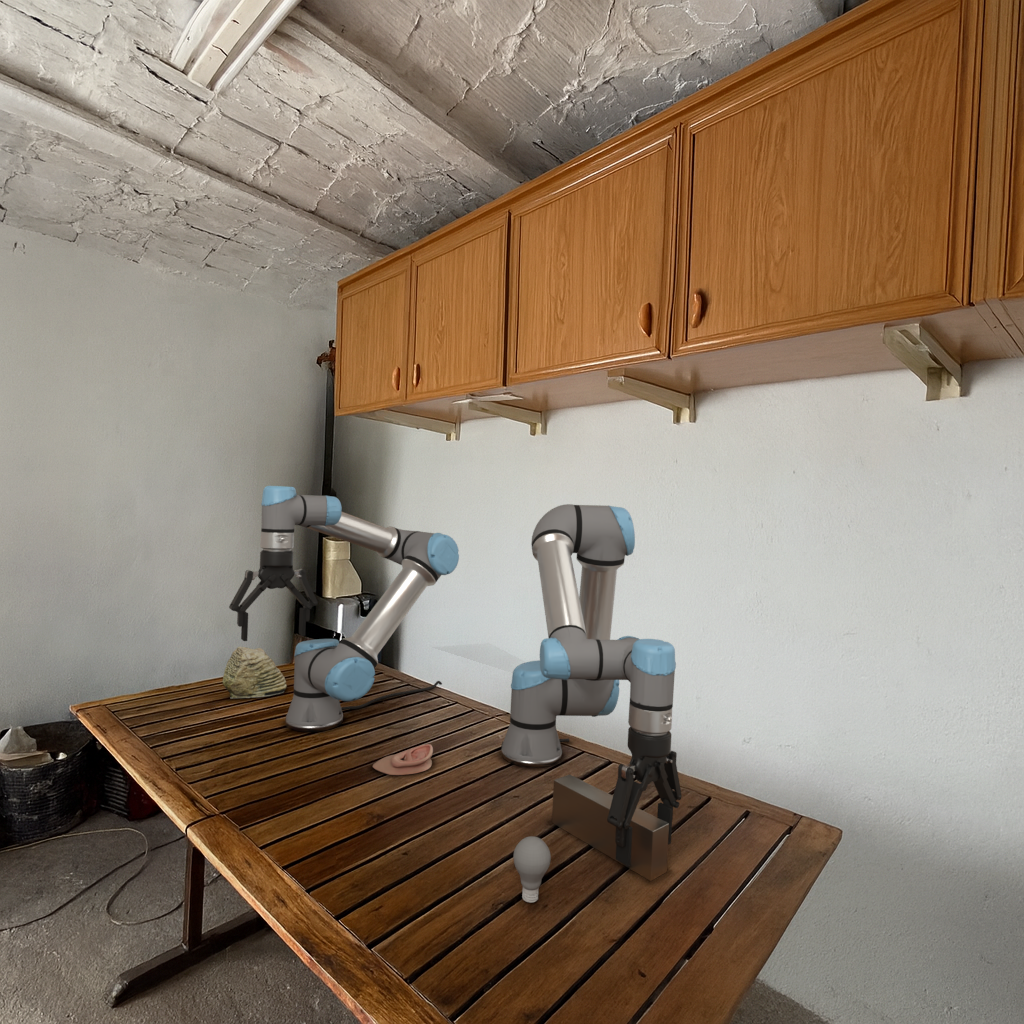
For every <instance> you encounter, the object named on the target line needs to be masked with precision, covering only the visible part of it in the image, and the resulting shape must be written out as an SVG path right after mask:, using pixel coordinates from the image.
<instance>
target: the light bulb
mask: <svg viewBox="0 0 1024 1024" xmlns="http://www.w3.org/2000/svg"><path fill="white" fill-rule="evenodd" d="M512 858H513V864H514V866H515V869H516V871H517V873H518V875H519V878H520V884H521V886H522V894H521V895H522V896H521V898H522V900H523V901H524V902H526V903H530V904H531V903H535V902H537V901H538V900H539V888H540V887H541V885H542V879H543V877H544V876H545V874H546V873H547V871H548V869H549V867H550V865H551V862H552V861H551V859H552V857H551V851H550V848H549V846H548V845H547V843H546V842H545V841H544V840H543V839H542V838H541V837H539V836H525V837H524V838H522V839H521V840H520V841H518V843H517V844H516V846H515V848H514V851H513V856H512Z"/></svg>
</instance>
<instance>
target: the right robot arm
mask: <svg viewBox="0 0 1024 1024" xmlns="http://www.w3.org/2000/svg"><path fill="white" fill-rule="evenodd" d="M635 533H636V532H635V526H634V522H633V519H632V516H631V513H630V512H629V511H628V510H627V509H626V508H624V507H621V506H613V505H596V504H594V505H593V504H592V505H590V504H572V503H567V504H561V505H557V506H555V507H553V508H551V509H550V510H548V511H547V512H546V513H545V514H543V515H542V517H541V518H540V519H539V520H538V522H537V523H536V525H535V527H534V529H533V532H532V536H531V543H530V545H531V552H532V556H533V558H534V559H535V560H536V561H537V564H538V572H539V578H540V587H541V593H542V601H543V609H544V616H545V624H546V630H547V637H548V638H544V639H542V640H541V641H540V642H541V643H540V646H539V660H531V661H527V662H523V663H521V664H519V665H517V666H515V668H513V671H512V674H511V675H512V676H511V683H510V689H511V690H510V691H511V694H510V714H509V726H508V728H507V731H506V733H505V736H504V739H503V741H502V742H501V745H500V748H501V754H500V755H501V757H502V759H504V760H505V761H506V762H508V763H509V764H511V765H515V766H519V767H525V768H533V769H534V768H538V769H539V768H548V767H551V766H554V765H556V764H558V763H559V762H561V761H562V758H563V757H562V755H563V748H562V745H561V743H570V741H571V740H570V738H559V737H560V736H559V734H558V730H557V717H559V716H560V717H562V716H563V717H593V718H596V717H601V716H609V715H610V714H612V713H613V712H614V711H615V709H616V707H617V705H618V701H619V696H620V681H628V682H629V683H630V685H629V687H630V688H629V704H628V705H629V706H628V720H627V721H628V726H629V727H628V731H627V749H628V750H629V752H630V754H631V759H630V762H629V763H628V764H623V763H620V764H619V765H618V767H617V778H616V779H617V780H616V783H615V787H614V791H613V794H612V796H613V799H612V803H611V807H610V811H609V815H608V818H607V822H608V823H610V824H612V825H614V826H615V827H616V836H615V837H616V838H615V842H616V860H618V861H619V862H621V863H623V864H624V865H626V866H630V865H631V848H632V827H631V826H629V825H630V822H631V820H632V817H633V815H634V812H635V810H636V807H637V808H638V805H639V802H640V799H641V797H642V794H643V792H646V790H647V789H648V786H649V784H651V783H652V782H653V785H654V787H655V789H656V792H657V794H658V796H659V799H660V801H661V802H659V803H657V818H659V819H661V820H663V821H665V822H667V823H669V834H668V846H669V845H671V844H672V832H673V831H672V829H673V828H672V827H673V819H674V808H675V809H678V808H679V807H680V801H681V800H682V797H683V796H682V789H681V785H680V778H679V773H678V766H677V755H678V753H677V752H676V751H674V750H672V732H671V730H672V728H673V707H674V690H675V677H676V676H675V675H676V674H675V672H676V667H677V663H676V649H675V646H674V645H673V643H670V642H669V641H665V640H662V639H658V638H657V639H655V638H639V637H636V636H633V635H624V636H621V637H619V638H617V639H611V636H612V635H611V634H612V624H613V615H614V604H615V595H616V586H617V585H616V584H617V574H618V570H619V568H621V567H622V566H623V565H625V558H626V556H627V557H629V556H631V555H632V554H633V553H634V550H635V545H636V535H635ZM573 554H576V557H575V558H576V561H577V562H578V564H580V566H581V573H580V574H581V575H580V584H579V589H578V585H577V584H578V583H577V579H576V574H575V569H574V568H575V567H574V563H573V558H572V555H573ZM635 780H636V781H635ZM624 818H625V820H624ZM616 860H615V861H616ZM619 862H618V863H619ZM621 863H620V864H621ZM624 865H623V866H624ZM626 866H625V867H626Z"/></svg>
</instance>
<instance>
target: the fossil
mask: <svg viewBox="0 0 1024 1024" xmlns="http://www.w3.org/2000/svg"><path fill="white" fill-rule="evenodd" d="M222 676H223V677H222V685H223V687H224V688H225V690H226V691H228V693H229V698H230V699H250V698H264V697H271V696H275V695H281V694H284V693H285V691H286V689H287V687H288V686H287V680H286V678H285V676H284V674H283V673H282V672H281V669H279V668H278V667H277V665H276V663H275V662H274V660H273V659H272V658H271V657H270V656H269V655H268V654H267V653H266V652H265V650H264V649H263V648H260V647H258V648H251V647H247V646H246V647H245V646H238V647H237V648H236V649H235V650H233V651H232V653H231V656H230V657H229V659H228V660H227V663H226V666H225V668H224V671H223V675H222Z"/></svg>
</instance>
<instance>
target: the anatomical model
mask: <svg viewBox="0 0 1024 1024" xmlns="http://www.w3.org/2000/svg"><path fill="white" fill-rule="evenodd" d="M433 753H434V747H433V745H432V744H431V743H427V744H422V745H421V744H420V745H418V746H415V747H412V748H409V749H407V750H404V751H401V752H399V753H396V754H390V755H387V756H385V757H383V758H381V759H378V760H377V761H376V762H374V763H373V764H372V768H373V769H374V770H375V771H378V772H380V773H382V774H385V775H390V776H403V775H404V776H405V775H413V774H418V773H422V772H425V771H428V770H430V769H431V767H432V765H433V761H432V756H433Z"/></svg>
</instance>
